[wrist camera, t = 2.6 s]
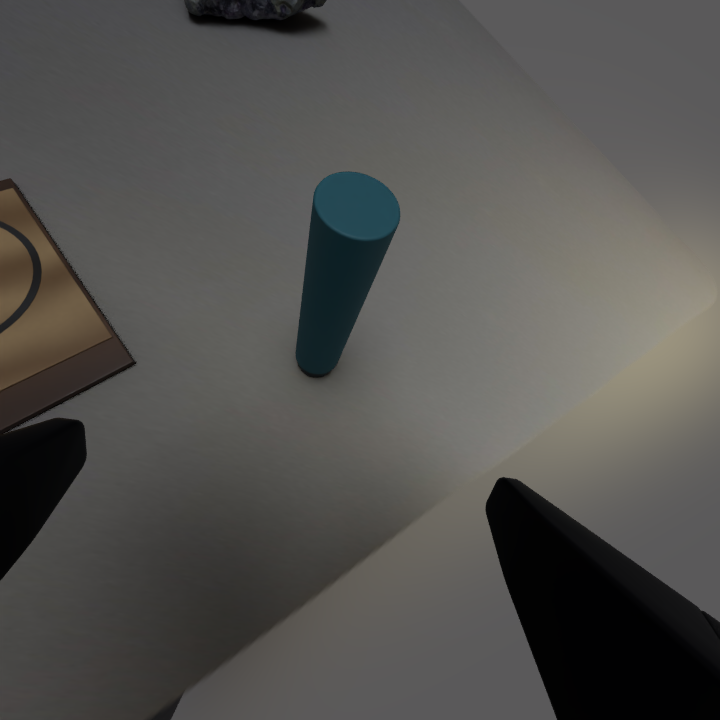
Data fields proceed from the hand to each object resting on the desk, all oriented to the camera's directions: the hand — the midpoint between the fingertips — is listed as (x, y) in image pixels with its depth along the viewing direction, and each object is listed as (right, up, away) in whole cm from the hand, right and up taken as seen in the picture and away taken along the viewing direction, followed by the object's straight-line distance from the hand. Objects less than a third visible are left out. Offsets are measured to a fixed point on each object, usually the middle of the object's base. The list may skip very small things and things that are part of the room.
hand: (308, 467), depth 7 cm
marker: (-2, +2, +15) cm, 16 cm away
